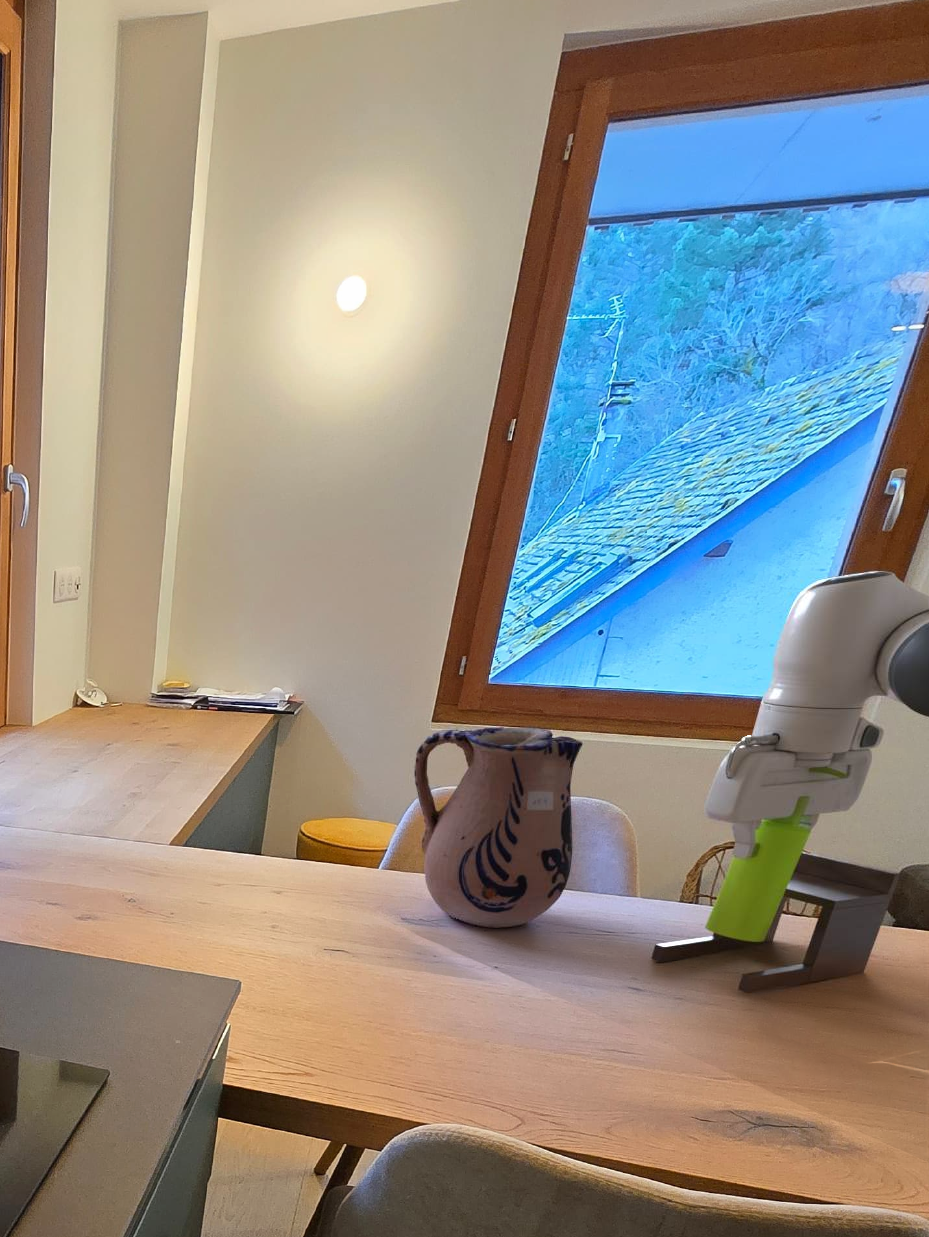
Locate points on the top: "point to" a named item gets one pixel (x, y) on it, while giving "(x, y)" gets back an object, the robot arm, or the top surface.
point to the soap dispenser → (762, 876)
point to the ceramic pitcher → (500, 825)
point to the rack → (840, 931)
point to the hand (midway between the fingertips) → (765, 854)
